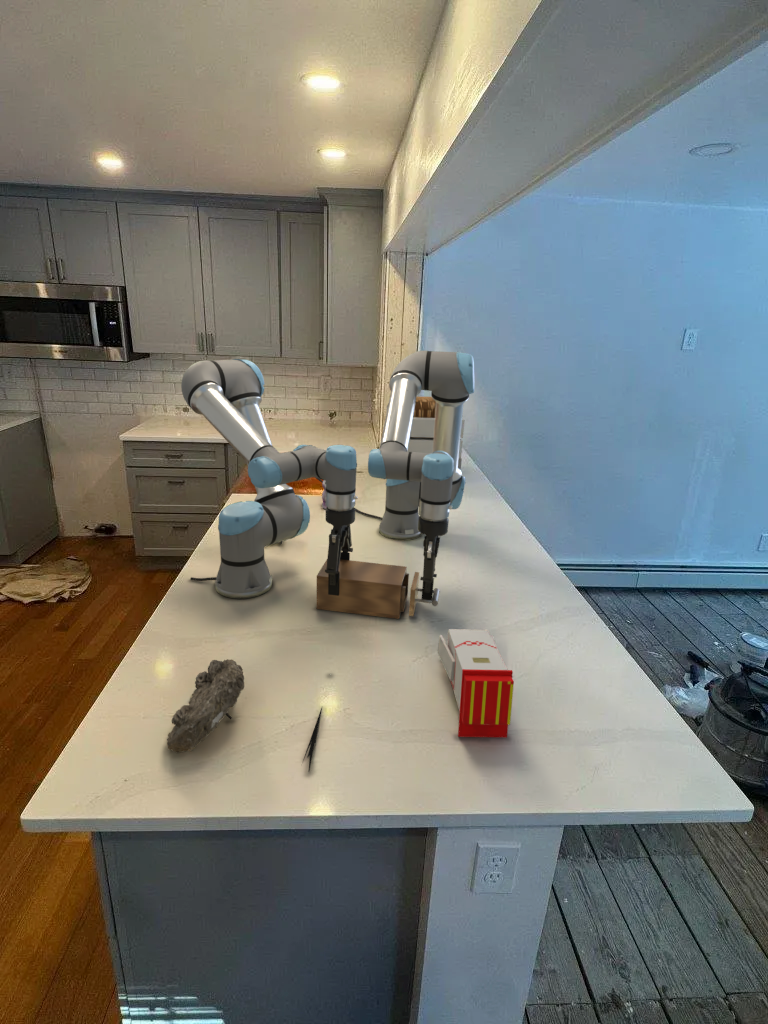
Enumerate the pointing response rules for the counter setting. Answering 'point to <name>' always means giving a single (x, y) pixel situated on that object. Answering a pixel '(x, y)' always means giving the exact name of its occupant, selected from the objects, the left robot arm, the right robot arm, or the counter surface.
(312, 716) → the counter surface
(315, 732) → the feather
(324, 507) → the figurine
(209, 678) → the fossil
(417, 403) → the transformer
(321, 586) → the cabinet
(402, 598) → the drawer
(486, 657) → the toy
